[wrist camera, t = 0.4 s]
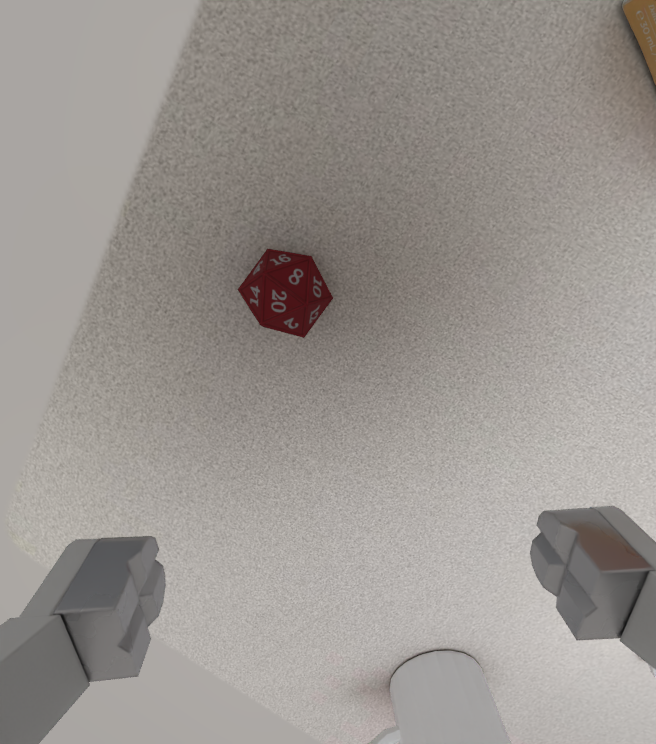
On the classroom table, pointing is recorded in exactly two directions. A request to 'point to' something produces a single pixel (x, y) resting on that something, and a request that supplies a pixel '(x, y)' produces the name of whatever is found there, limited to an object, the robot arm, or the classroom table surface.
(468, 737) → the mug
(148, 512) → the classroom table surface
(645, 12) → the small box
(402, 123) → the classroom table surface
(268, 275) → the dice
